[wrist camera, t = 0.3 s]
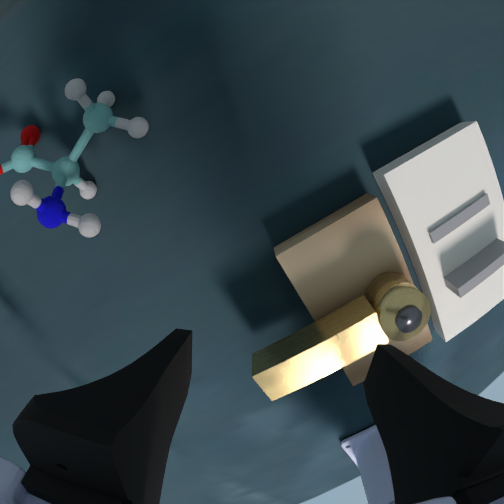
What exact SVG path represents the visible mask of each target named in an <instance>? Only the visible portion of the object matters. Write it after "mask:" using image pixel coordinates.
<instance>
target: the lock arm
mask: <svg viewBox="0 0 504 504" xmlns="http://www.w3.org/2000/svg"><path fill="white" fill-rule="evenodd" d="M430 314H431V305H430V302H429V299H428V298H427V297H426V296H425V295H424V294H423V293H422V292H421V291H420V290H419V289H418V288H417V287H415V286H414V285H413V284H412V283H411V282H410V281H409V280H408V279H407V278H405V277H404V276H403V275H402V274H400V273H398V272H394V271H390V272H385V273H382V274H380V275H378V276H377V277H376V278H375V279H373V281H372V282H371V283H370V284H369V286H368V288H367V290H366V294H365V296H364V295H362V296H360V297H358V298H357V299H355V300H353V301H351V302H350V303H348V304H346V305H344V306H343V307H341V308H339V309H337V310H336V311H334V312H332V313H330V314H328V315H327V316H325V317H323V318H321V319H319V320H317V321H316V322H314V323H312V324H310V325H308V326H306V327H304V328H302V329H301V330H299V331H297V332H295V333H293V334H291V335H289V336H287V337H285V338H283V339H281V340H279V341H277V342H275V343H273V344H271V345H269V346H267V347H265V348H263V349H261V350H259V351H257V352H255V353H253V354H252V377H253V379H254V380H255V381H256V382H257V383H258V385H259V386H260V387H261V388H262V390H263V391H264V392H265V393H266V394H267V396H268V397H269V398H270V399H271V400H272V401H273V400H276V399H278V398H280V397H283V396H285V395H287V394H289V393H291V392H294V391H296V390H298V389H300V388H302V387H304V386H307V385H309V384H311V383H313V382H315V381H317V380H319V379H321V378H323V377H325V376H327V375H329V374H331V373H333V372H335V371H337V370H339V369H341V368H343V367H345V366H347V365H348V364H350V363H352V362H354V361H356V360H358V359H360V358H361V357H363V356H365V355H367V354H369V353H370V352H372V351H374V350H375V349H376V346H377V344H386V343H388V342H389V340H388V338H389V339H391V340H394V341H406V340H409V339H411V338H413V337H415V336H416V335H418V334H419V333H420V332H421V331H422V330H423V329H424V327H425V326H426V324H427V323H428V320H429V318H430ZM387 337H388V338H387Z"/></svg>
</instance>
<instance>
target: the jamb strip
mask: <svg viewBox="0 0 504 504" xmlns="http://www.w3.org/2000/svg"><path fill="white" fill-rule="evenodd" d="M274 252H275V256H276V258H277V260H278V261H279V263H280V265H281V266H282V268H283V270H284V271H285V273H286V275H287V276H288V278H289V279H290V281H291V283H292V284H293V286H294V288H295V289H296V291H297V293H298V294H299V296H300V298H301V299H302V301H303V303H304V304H305V306H306V308H307V309H308V311H309V313H310V314H311V316H312V318H313V319H314V321H315V322H316V321H317V320H319V319H321V318H323V317H325V316H327V315H328V314H330V313H332V312H334V311H336V310H337V309H339V308H341V307H343V306H344V305H346V304H348V303H350V302H351V301H353V300H355V299H357V298H358V297H360V296H362V295H364V296H365V294H366V290H367V288H368V286H369V284H370V283H371V282H372V281H373V279H375V278H376V277H377V276H378V275H380V274H382V273H385V272H390V271H394V272H398V273H400V274H402V275H403V276H404V277H405V278H407V279H408V280H409V281H410V282H411V283H412V284H413V281H412V278H411V276H410V273H409V271H408V268H407V265H406V263H405V260H404V258H403V255H402V253H401V251H400V248H399V246H398V243H397V241H396V239H395V236H394V234H393V232H392V229H391V227H390V225H389V223H388V220H387V218H386V216H385V214H384V212H383V209H382V207H381V205H380V203H379V201H378V199H377V197H374V196H372V195H369V194H365V195H363V196H361V197H360V198H358V199H356V200H354V201H353V202H351V203H349V204H348V205H346V206H344V207H342V208H341V209H339V210H337V211H336V212H334V213H332V214H330V215H329V216H327V217H325V218H323V219H322V220H320V221H318V222H317V223H315V224H313V225H311V226H310V227H308V228H306V229H304V230H303V231H301V232H299V233H298V234H296V235H294V236H292V237H291V238H289V239H287V240H285V241H284V242H282V243H280V244H279V245H277V246H275V247H274ZM413 285H414V284H413ZM387 338H388V337H387ZM388 340H389V342H388V343H386V344H391V345H393V346H394V347H396V348H398V349H399V350H401V351H402V352H404V353H405V354H407V355H410V354H411V353H413V352H415V351H416V350H418V349H419V348H421V347H422V346H424V345H426V344H427V343H429V342H430V341H432V336H431V333H430V330H429V327H428V324H426V326H425V327H424V329H423V330H422V331H421V332H420V333H419V334H418V335H416V336H415V337H413V338H411V339H409V340H406V341H394V340H391V339H389V338H388ZM374 352H375V350H374V351H372V352H370V353H369V354H367V355H365V356H363V357H361V358H360V359H358V360H356V361H354V362H352V363H350V364H348V365H347V366H345V367H343V370H344V372H345V373H346V375H347V377H348V378H349V380H350V382H351V383H352V385H353V386H355V385H357V384H359V383H361V382H362V381H364V380H365V378H366V376H367V373H368V370H369V367H370V364H371V361H372V358H373V355H374Z"/></svg>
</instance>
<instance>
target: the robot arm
mask: <svg viewBox="0 0 504 504" xmlns="http://www.w3.org/2000/svg"><path fill="white" fill-rule="evenodd" d="M191 374H192V331H191V330H183V329H175V330H174V331H173V332H171V333H170V334H169V335H168V336H167V337H165V338H164V339H163V340H162V341H161V342H160V343H158V344H157V345H156V346H155V347H153V348H152V349H151V350H150V351H148V352H147V353H146V354H144V355H143V356H141V357H140V358H139V359H137V360H136V361H134V362H133V363H131V364H130V365H128V366H126V367H124V368H123V369H121V370H119V371H117V372H115V373H113V374H111V375H109V376H107V377H104V378H102V379H99V380H97V381H94V382H92V383H89V384H86V385H83V386H80V387H76V388H73V389H69V390H64V391H60V392H54V393H48V394H41V395H35V396H34V397H33V398H32V399H31V400H30V401H29V403H28V404H27V405H26V407H25V408H24V409H23V411H22V412H21V413H20V415H19V416H18V417H17V419H16V420H15V421H14V423H13V433H14V436H15V438H16V441H17V443H18V444H19V446H20V448H21V450H22V452H23V453H24V455H25V457H26V458H27V460H28V462H29V463H30V465H31V466H30V467H29V469H28V471H27V472H25V471H24V470H23V469H22V468H21V467H19V466H18V465H16V464H14V463H12V462H11V461H9V460H7V459H5V458H3V457H1V456H0V504H159V502H160V495H161V489H162V484H163V478H164V473H165V467H166V462H167V458H168V453H169V448H170V444H171V441H172V437H173V435H174V432H175V429H176V426H177V423H178V420H179V417H180V414H181V412H182V409H183V406H184V403H185V400H186V397H187V394H188V389H189V384H190V379H191ZM364 389H365V394H366V398H367V402H368V406H369V408H370V411H371V414H372V416H373V419H374V421H375V424H376V425H374V426H372V427H370V428H368V429H366V430H364V431H362V432H360V433H357V434H355V435H353V436H351V437H349V438H347V439H344V440H343V441H342V442H341V446H342V448H343V449H344V450H345V451H346V453H347V454H348V455H349V456H350V458H351V459H352V460H353V461H354V463H355V464H356V465H357V466H358V468H359V472H360V475H361V478H362V482H363V486H364V489H365V493H366V496H367V500H368V504H504V404H503V403H499V402H496V401H492V400H489V399H486V398H483V397H480V396H478V395H475V394H472V393H470V392H468V391H466V390H463V389H461V388H459V387H457V386H455V385H453V384H452V383H450V382H448V381H446V380H444V379H443V378H441V377H440V376H438V375H436V374H435V373H433V372H432V371H430V370H429V369H427V368H426V367H424V366H423V365H421V364H420V363H418V362H417V361H415V360H414V359H413V358H411V357H410V356H408V355H407V354H405V353H404V352H402V351H401V350H399V349H398V348H396V347H394V346H393V345H391V344H377V346H376V349H375V352H374V355H373V358H372V361H371V364H370V367H369V370H368V373H367V376H366V378H365V381H364Z"/></svg>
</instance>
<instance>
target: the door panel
mask: <svg viewBox="0 0 504 504" xmlns="http://www.w3.org/2000/svg"><path fill="white" fill-rule="evenodd" d="M372 174H373V176H374V178H375V180H376V182H377V184H378V186H379V188H380V190H381V192H382V194H383V196H384V199H385V201H386V203H387V205H388V207H389V209H390V212H391V214H392V216H393V218H394V221H395V223H396V225H397V228H398V230H399V232H400V235H401V237H402V239H403V242H404V244H405V247H406V249H407V252H408V254H409V257H410V259H411V262H412V265H413V267H414V270H415V273H416V275H417V278H418V281H419V284H420V286H421V289H422V292H423V294H424V295H425V296H426V297H427V298H428V299H429V302H430V305H431V314H430V316H431V319H432V322H433V326H434V329H435V331H436V332H437V333H438V334H439V335H440V336H441V337H442V339H443V340H444V341H445V342H447V341H449V340H450V339H452V338H453V337H454V336H456V335H457V334H459V333H460V332H461V331H463V330H464V329H466V328H467V327H468V326H470V325H471V324H472V323H474V322H475V321H476V320H478V319H479V318H480V317H482V316H483V315H484V314H485V313H487V312H488V311H489V310H490V309H492V308H493V307H494V306H495V305H497V304H498V303H499V302H500V301H501V300H503V299H504V201H503V197H502V193H501V190H500V186H499V183H498V179H497V176H496V173H495V170H494V167H493V164H492V161H491V158H490V155H489V152H488V149H487V146H486V144H485V141H484V138H483V136H482V133H481V130H480V128H479V126H478V123H477V121H471V122H461V123H459V124H457V125H455V126H453V127H452V128H450V129H448V130H446V131H445V132H443V133H441V134H439V135H438V136H436V137H434V138H432V139H430V140H429V141H427V142H425V143H423V144H422V145H420V146H418V147H416V148H415V149H413V150H411V151H409V152H408V153H406V154H404V155H402V156H401V157H399V158H397V159H395V160H394V161H392V162H390V163H388V164H387V165H385V166H383V167H381V168H380V169H378V170H376V171H374V172H373V173H372Z"/></svg>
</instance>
